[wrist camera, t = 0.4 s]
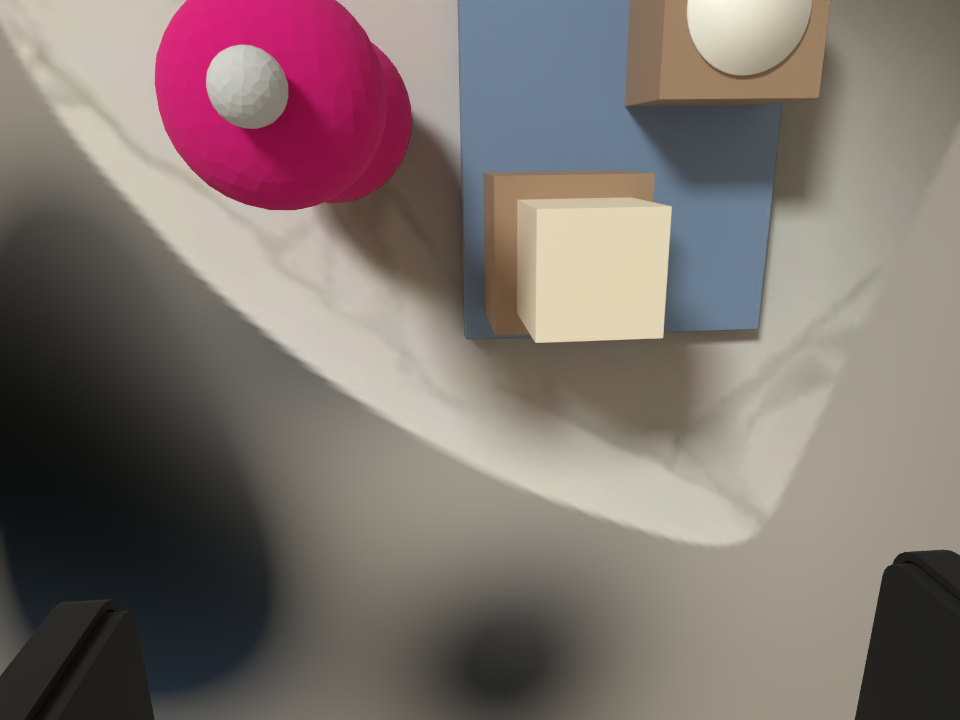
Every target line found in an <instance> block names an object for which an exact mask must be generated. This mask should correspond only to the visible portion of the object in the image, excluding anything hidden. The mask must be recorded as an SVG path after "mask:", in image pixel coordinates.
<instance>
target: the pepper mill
mask: <svg viewBox="0 0 960 720" xmlns="http://www.w3.org/2000/svg"><path fill="white" fill-rule="evenodd" d="M155 88H156V94H157V100H158V107H159V111H160V115H161V118H162V121H163V124H164V127H165V130H166V132H167V134H168V136H169V138H170V140H171V141H172V143H173V145H174V147H175V149H176V151H177V152H178V153H179V154H180V156H181V157H182V158H183V159H184V161H185V162H186V163H187V165H188V166H189V167H190V168H191V169H192V170H193V171H194V172H195V173H196V174H197V175H198V176H199V177H200V178H201V179H202V180H203V181H205V182H206V183H207V184H208V185H209V186H210V187H212V188H214V189H215V190H217V191H219V192H220V193H222V194H223V195H225V196H227V197H229V198H231V199H234V200H236V201H239V202H241V203H244V204H246V205H251V206H255V207H259V208H264V209H268V210H297V209H303V208H308V207H312V206H316V205H318V204H321V203H323V202H327V203H337V202H346V201H351V200H355V199H358V198H361V197H363V196H366V195H368V194H370V193H371V192H373V191H374V190H376V189H378V188H379V187H381V186H382V185H383V184H384V183H385V182H386V181H387V180H388V179H389V178H390V177H391V176H392V175H393V174H394V172H395V171H396V169H397V168H398V166H399V165H400V163H401V162H402V159H403V157H404V155H405V152H406V150H407V148H408V144H409V140H410V135H411V125H412V116H411V105H410V101H409V97H408V92H407V90H406V87H405V85H404V82H403V80H402V78H401V76H400V74H399V73H398V71H397V69H396V67H395V66H394V65H393V63H392V62H391V61H390V60H389V58H388V57H387V56H386V55H385V54H384V53H383V52H382V51H381V50H380V49H379V48H378V47H377V46H375V45H374V44H373V43H372V42H370V40H369V38H368V36H367V34H366V32H365V31H364V29H363V28H362V27H361V26H360V24H359V23H358V22H357V21H356V19H355V18H354V17H353V16H352V15H351V14H350V13H349V12H348V11H347V9H346V8H345V7H343V6H342V5H341V4H340V3H338V2H337V1H336V0H187V1H186V2H185V3H184V4H183V5H182V6H181V7H180V9H179V10H178V11H177V12H176V14H175V15H174V16H173V18H172V20H171V21H170V23H169V25H168V27H167V29H166V30H165V32H164V35H163V37H162V40H161V43H160V46H159V49H158V52H157V57H156V66H155Z"/></svg>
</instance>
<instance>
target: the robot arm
mask: <svg viewBox="0 0 960 720" xmlns="http://www.w3.org/2000/svg"><path fill="white" fill-rule="evenodd" d="M0 720H154V715H153V709H152V704H151V698H150V693H149V687H148V682H147V677H146V671H145V666H144V660H143V655H142V649H141V644H140V639H139V634H138V628H137V623H136V619H135V616H134V614H133V613H132V612H129V611H124V612H121V609H120V606H119V605H118V603H117V602H116V601H114V600H112V599H110V600H93V601H76V602H64V603H61V604H58V605H57V606H56V607H55V608H54V609H53V610H52V611H51V612H50V614H49V615H48V616H47V617H46V619H45V620H44V621H43V622H42V624H41V625H40V626H39V627H38V629H37V630H36V631H35V633H34V634H33V635H32V636H31V638H30V639H29V640H28V642H27V643H26V644H25V645H24V647H23V648H22V649H21V651H20V652H19V653H18V654H17V656H16V657H15V658H14V659H13V661H12V662H11V663H10V664H9V666H8V667H7V668H6V669H5V671H4V672H3V673H2V675H1V676H0ZM855 720H960V555H958V554H956V553H954V552H952V551H949V550H932V551H916V552H915V551H914V552H904V553H901V554H899V555H898V556H897V557H896V558H895V559H894V562H893V565H890V566H888V567H887V568H886V569H885V571H884V574H883V576H882V582H881V587H880V592H879V597H878V602H877V608H876V613H875V618H874V623H873V628H872V633H871V639H870V644H869V649H868V654H867V659H866V664H865V670H864V675H863V680H862V685H861V690H860V696H859V701H858V706H857V711H856V717H855Z"/></svg>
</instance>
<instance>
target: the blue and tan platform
mask: <svg viewBox="0 0 960 720" xmlns="http://www.w3.org/2000/svg"><path fill="white" fill-rule="evenodd" d="M830 2H831V0H458V39H459V87H460V135H461V182H462V230H463V278H464V326H465V337H466V339H491V338H518V337H532V338H533V340H534V341H535V343H546V342H573V341H600V340H626V339H653V338H663V332H681V331H708V330H736V329H758V323H759V313H760V304H761V295H762V285H763V276H764V267H765V258H766V248H767V239H768V230H769V221H770V211H771V202H772V193H773V183H774V174H775V165H776V156H777V146H778V137H779V128H780V119H781V109H782V103H783V102H791V101H799V100H806V99H814V98H819V92H820V84H821V75H822V67H823V59H824V51H825V43H826V34H827V26H828V18H829V10H830Z"/></svg>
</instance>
